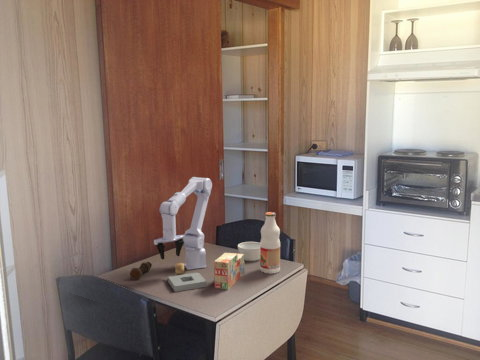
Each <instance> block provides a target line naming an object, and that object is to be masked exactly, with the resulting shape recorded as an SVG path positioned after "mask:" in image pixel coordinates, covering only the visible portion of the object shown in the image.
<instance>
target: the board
mask: <svg viewBox="0 0 480 360" xmlns="http://www.w3.org/2000/svg"><path fill="white" fill-rule="evenodd" d="M167 279H168V280H167V281H168V282H167V283H168V284H169V285H170V286H171V288H172V290H173V291H174V292H175V293H176V292H181V291H188V290H194V289H200V288H201V289H202V288H206V287H208V285H207V283H208V281H207V280H206V279H205V278H204V277H203V276H202V275H201V273H199V272H191V273H190V272H189V273H184V274H183V275H177V276H176V275H170V276H168V278H167Z"/></svg>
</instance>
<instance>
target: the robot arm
mask: <svg viewBox="0 0 480 360" xmlns="http://www.w3.org/2000/svg"><path fill="white" fill-rule="evenodd" d="M212 187H213V182H212V180H211V179H210V177H209V178H208V177H197V176H192V177H191V178H190V179H189V180H188V183H187V185H186V186H185V187H184V188H183V189H181V191H178V192H175V193H174V194H173V195H172V196H171V197H170V198H169V199H168V200H167V201H162V203H161V204H160V206H159V209H158V210H159V213H160V214H161V218H162V237H159V238H156V239H153V244H154V245H155V247H156V248H157V251H158V253H159V256H160V259H161V260H165V248H166V246H165V245H164V244H168V243H173V242H174V244H175V255H176V256H177V257H180V255H181V251H182V248H183V247H184V248H183V249H184V250H185V263H184V268H186V270H189V271H190V270H195V269H201V268H202V269H203V268H207V253H206V249H205V247H204V245H205V235H206V234H204V233H203V232H202V229H203V228H202V227H203V223H204V219H205V216H206V211H207V207H208V202H209V198H210V197H211V191H212ZM192 193H194V194H195V195H196V196H197V199H196V203H195V207H194V211H193V216H192V219H191V220H192V221H191V223H190V228H188V229H186V230H185V232H184V234H178V235H177V227H176V215H177V214H178V213H179V212H178V211H179V210H180V207H181V206H182V205H184V203H185V202H187V201H186V200H187V197H188V196H190V195H191V194H192Z"/></svg>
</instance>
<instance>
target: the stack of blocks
mask: <svg viewBox="0 0 480 360" xmlns="http://www.w3.org/2000/svg"><path fill="white" fill-rule="evenodd" d="M213 272H214V289H218V288H220V290H226V291H227V290H230V288H232V287H233V285H235V283H236V282H238V280H239V279H240V278H241V277H242V276H243V275H244V274H245V261H244V254H239V253H233V252H223V253H222V255H220V256H219V257H218V258H216V259H215V260H214V271H213Z"/></svg>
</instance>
